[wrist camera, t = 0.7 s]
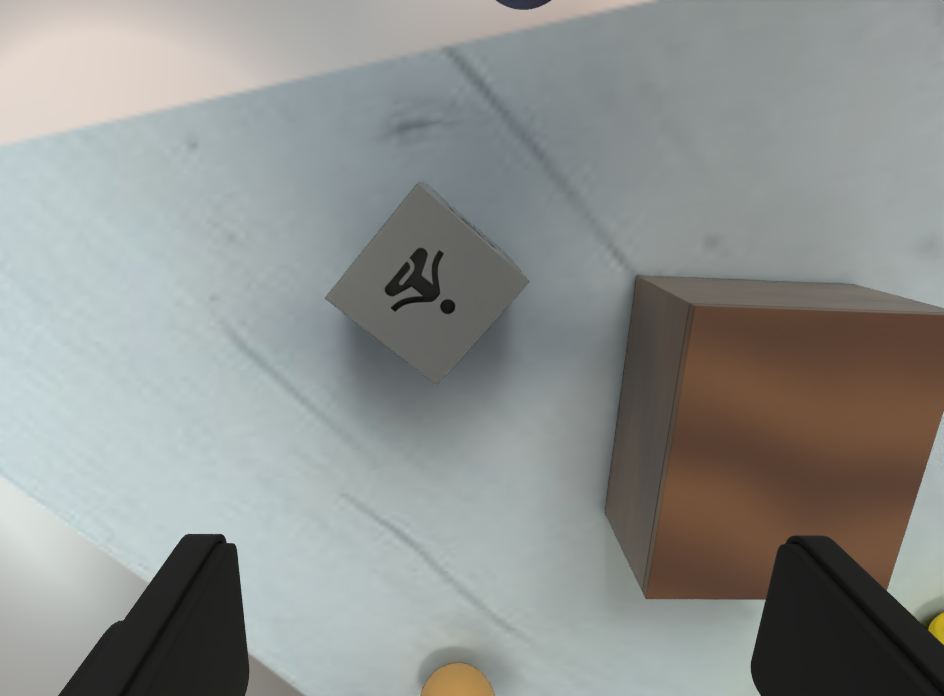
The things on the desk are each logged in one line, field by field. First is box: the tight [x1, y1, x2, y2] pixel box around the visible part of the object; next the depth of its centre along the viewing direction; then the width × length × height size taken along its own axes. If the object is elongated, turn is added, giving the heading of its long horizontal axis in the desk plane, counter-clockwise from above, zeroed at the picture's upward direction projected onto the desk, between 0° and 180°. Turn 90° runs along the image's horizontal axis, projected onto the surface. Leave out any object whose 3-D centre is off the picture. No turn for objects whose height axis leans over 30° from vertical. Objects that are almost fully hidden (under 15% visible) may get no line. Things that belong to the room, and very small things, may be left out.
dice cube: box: [325, 181, 530, 385], centre depth 22 cm, size 5×5×5 cm
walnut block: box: [605, 276, 944, 599], centre depth 24 cm, size 12×10×6 cm
